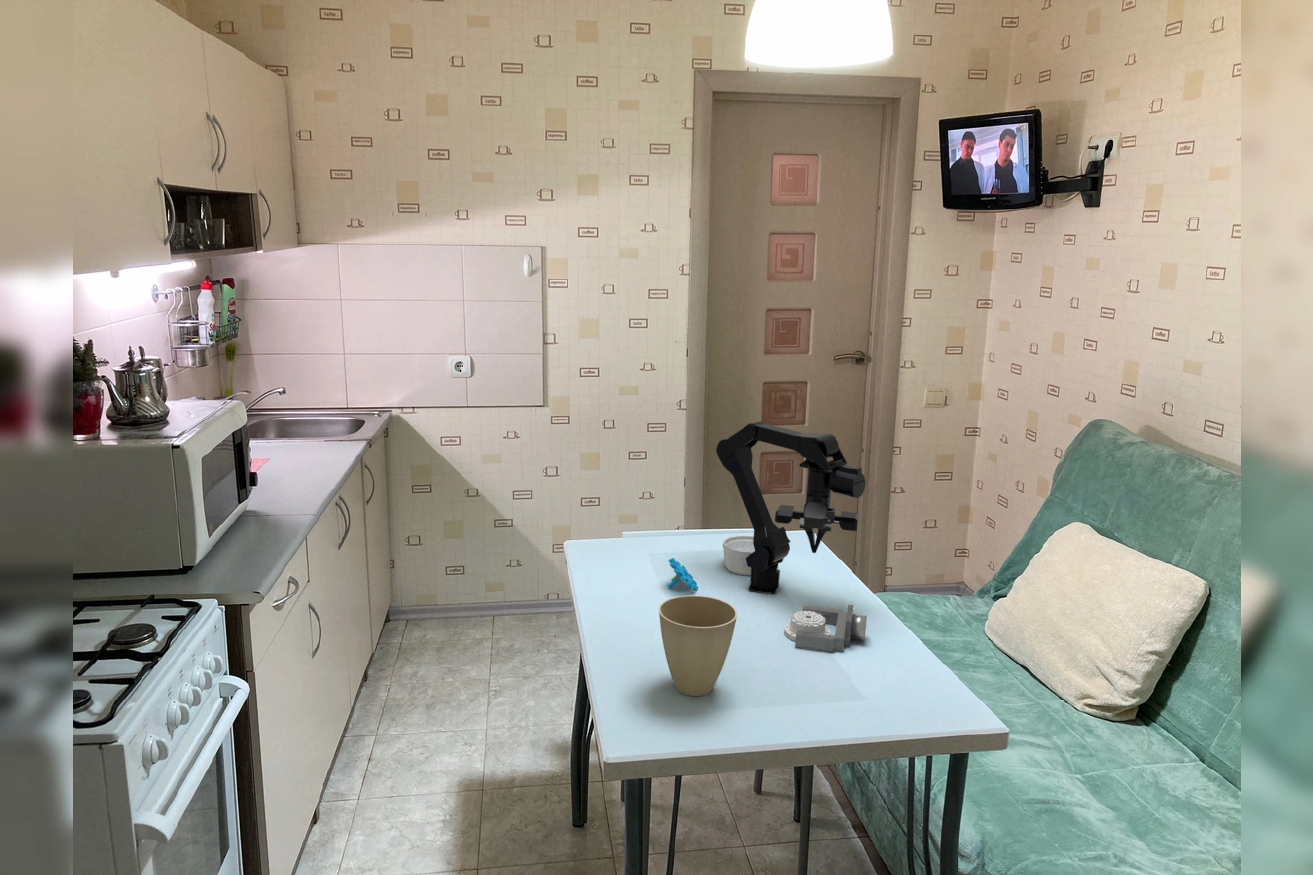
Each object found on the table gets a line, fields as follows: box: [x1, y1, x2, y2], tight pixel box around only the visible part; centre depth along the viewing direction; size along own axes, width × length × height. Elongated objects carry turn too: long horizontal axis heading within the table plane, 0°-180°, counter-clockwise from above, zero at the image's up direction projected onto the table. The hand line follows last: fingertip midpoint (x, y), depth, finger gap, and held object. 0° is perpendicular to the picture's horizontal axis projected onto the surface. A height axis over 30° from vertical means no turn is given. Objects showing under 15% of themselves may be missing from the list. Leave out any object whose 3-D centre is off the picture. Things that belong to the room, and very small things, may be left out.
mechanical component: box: [783, 610, 831, 643], centre depth 201 cm, size 10×4×10 cm
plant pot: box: [658, 595, 738, 697], centre depth 176 cm, size 15×15×16 cm
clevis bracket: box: [794, 604, 868, 653], centre depth 200 cm, size 14×16×6 cm
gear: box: [667, 557, 699, 592], centre depth 224 cm, size 11×6×10 cm
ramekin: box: [722, 534, 755, 577], centre depth 238 cm, size 13×13×7 cm
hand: (814, 552), depth 215 cm, fingers closed
